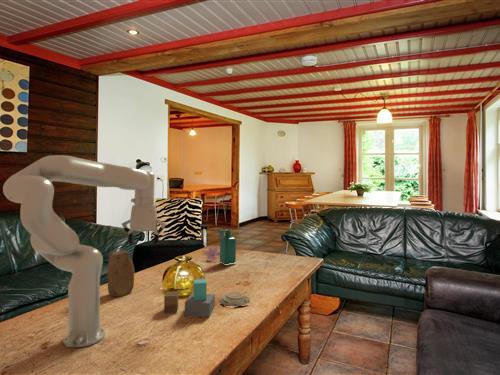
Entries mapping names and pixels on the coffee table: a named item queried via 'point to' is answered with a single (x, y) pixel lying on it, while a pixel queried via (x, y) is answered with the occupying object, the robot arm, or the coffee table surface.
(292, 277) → the coffee table surface
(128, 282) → the brown rounded oval lump
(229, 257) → the green bottle
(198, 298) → the teal block
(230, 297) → the grey stepped disc
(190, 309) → the base block
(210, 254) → the lily
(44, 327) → the coffee table surface
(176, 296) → the walnut block
